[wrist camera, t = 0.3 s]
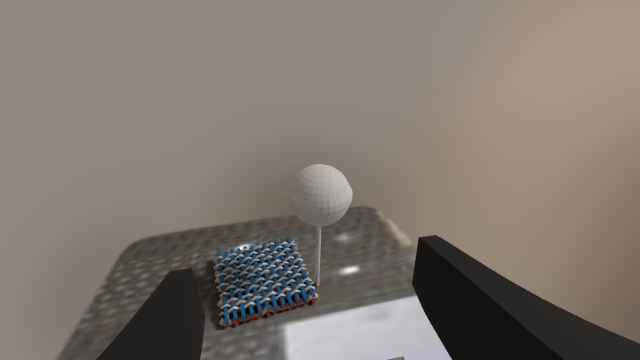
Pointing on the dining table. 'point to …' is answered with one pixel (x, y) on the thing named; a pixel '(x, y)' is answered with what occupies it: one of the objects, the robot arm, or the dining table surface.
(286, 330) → the dining table surface
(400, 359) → the button housing
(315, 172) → the lollipop
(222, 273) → the woven mat
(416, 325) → the dining table surface
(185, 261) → the dining table surface
